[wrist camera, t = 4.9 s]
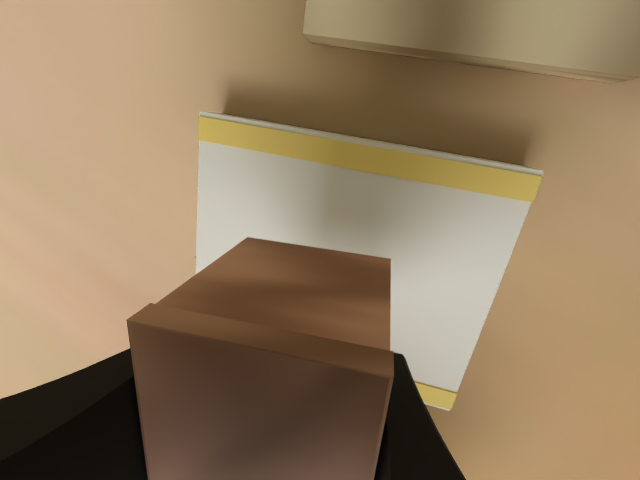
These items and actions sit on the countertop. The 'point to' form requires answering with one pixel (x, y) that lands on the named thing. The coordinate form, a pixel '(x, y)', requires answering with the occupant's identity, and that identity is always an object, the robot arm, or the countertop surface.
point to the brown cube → (267, 367)
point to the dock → (373, 224)
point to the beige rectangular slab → (490, 33)
